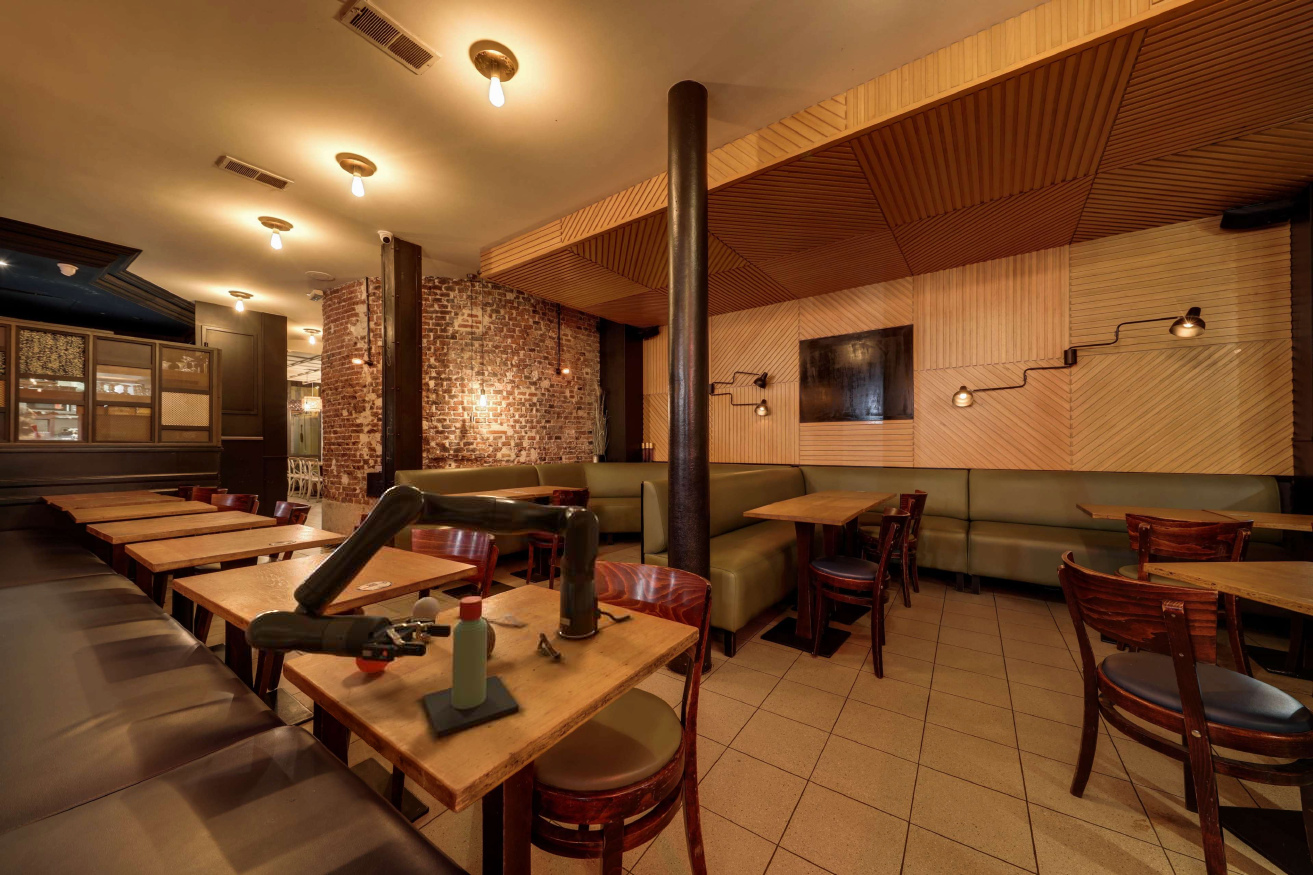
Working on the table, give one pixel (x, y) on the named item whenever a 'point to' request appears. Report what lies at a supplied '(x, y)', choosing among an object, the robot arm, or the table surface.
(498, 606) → the table surface
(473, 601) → the cap
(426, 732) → the table surface
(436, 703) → the coaster
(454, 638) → the bottle
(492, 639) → the vase
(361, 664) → the clementine
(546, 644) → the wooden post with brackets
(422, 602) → the lightbulb
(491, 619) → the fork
